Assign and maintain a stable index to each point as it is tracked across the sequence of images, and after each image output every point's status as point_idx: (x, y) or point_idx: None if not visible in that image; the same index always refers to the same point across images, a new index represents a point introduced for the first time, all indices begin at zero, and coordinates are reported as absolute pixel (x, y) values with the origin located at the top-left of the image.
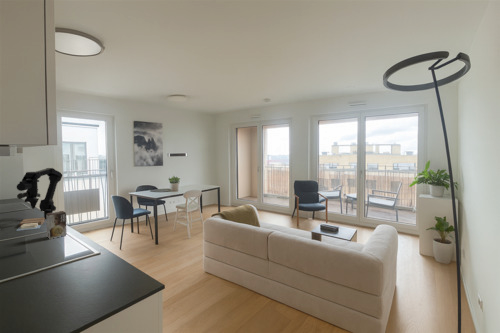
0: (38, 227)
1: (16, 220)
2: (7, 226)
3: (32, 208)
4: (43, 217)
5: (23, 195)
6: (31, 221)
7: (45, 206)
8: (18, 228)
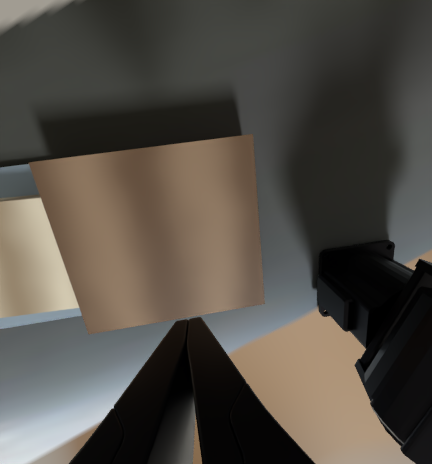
0: (16, 320)
1: (392, 7)
2: (138, 7)
3: (173, 328)
4: (259, 297)
5: None
6: (112, 250)
7: (401, 386)
8: (2, 170)
